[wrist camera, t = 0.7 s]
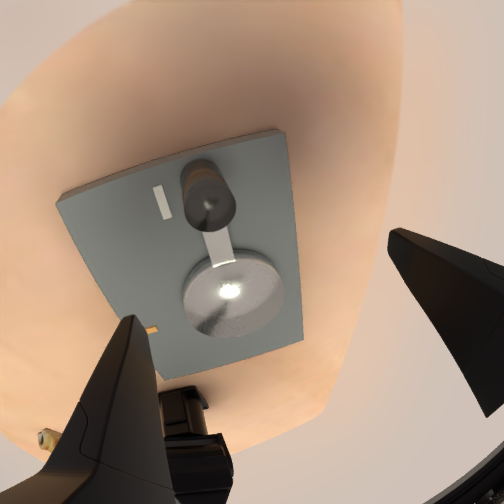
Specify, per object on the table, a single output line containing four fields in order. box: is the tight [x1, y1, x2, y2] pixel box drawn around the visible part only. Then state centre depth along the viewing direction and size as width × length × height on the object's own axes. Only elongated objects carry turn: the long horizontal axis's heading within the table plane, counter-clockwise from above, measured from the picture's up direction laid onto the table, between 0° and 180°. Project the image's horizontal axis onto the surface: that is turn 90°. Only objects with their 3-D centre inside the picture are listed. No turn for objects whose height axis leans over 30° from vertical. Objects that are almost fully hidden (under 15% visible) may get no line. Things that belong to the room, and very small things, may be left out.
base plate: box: [55, 129, 304, 380], centre depth 24 cm, size 22×16×2 cm
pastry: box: [38, 429, 62, 452], centre depth 36 cm, size 9×7×4 cm
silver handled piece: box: [180, 159, 285, 338], centre depth 20 cm, size 15×8×5 cm, turn 10°
